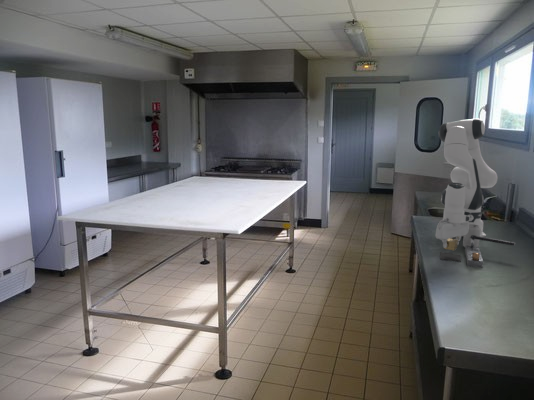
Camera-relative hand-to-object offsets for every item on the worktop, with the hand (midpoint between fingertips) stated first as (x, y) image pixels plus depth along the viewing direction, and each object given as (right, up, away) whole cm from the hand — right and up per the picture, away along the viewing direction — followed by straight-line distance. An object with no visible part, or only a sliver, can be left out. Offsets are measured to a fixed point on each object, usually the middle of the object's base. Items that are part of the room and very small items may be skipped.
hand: (450, 246), depth 199 cm
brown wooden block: (0, -1, 0) cm, 1 cm away
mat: (0, -6, +1) cm, 6 cm away
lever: (+21, +2, +2) cm, 21 cm away
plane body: (+10, -6, -1) cm, 12 cm away
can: (+18, -3, +17) cm, 25 cm away
